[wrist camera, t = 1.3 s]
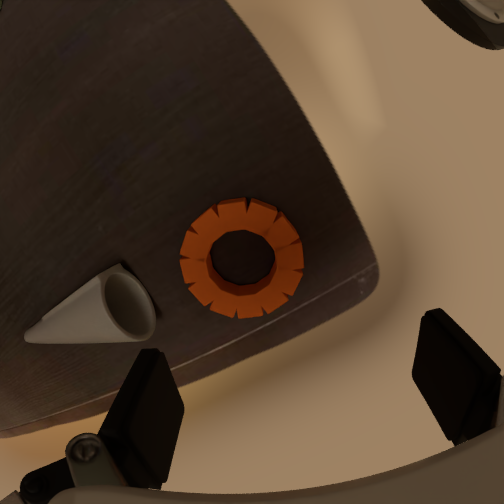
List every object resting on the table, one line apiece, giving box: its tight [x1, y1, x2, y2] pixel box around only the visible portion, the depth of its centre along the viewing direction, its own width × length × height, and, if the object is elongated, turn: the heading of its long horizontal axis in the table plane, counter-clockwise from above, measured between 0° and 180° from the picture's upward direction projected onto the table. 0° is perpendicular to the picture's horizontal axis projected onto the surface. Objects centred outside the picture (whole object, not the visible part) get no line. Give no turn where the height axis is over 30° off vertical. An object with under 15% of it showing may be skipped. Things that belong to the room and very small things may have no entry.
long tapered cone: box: [24, 263, 156, 344], centre depth 25 cm, size 6×6×19 cm
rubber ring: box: [179, 197, 304, 319], centre depth 23 cm, size 9×9×2 cm
